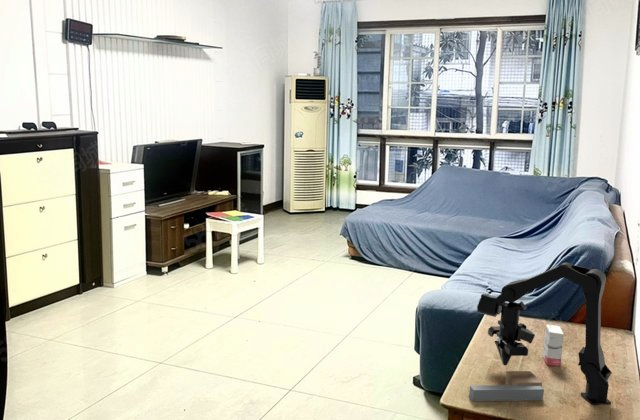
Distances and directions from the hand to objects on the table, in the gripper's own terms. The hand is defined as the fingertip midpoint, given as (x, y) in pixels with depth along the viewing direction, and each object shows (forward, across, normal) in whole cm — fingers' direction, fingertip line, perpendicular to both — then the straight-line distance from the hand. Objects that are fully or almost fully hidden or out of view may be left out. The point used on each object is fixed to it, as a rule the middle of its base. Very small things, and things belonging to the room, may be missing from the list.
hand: (504, 364), depth 201 cm
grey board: (+3, -18, +7) cm, 19 cm away
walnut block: (+3, -12, -1) cm, 12 cm away
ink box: (+3, +9, -21) cm, 23 cm away
